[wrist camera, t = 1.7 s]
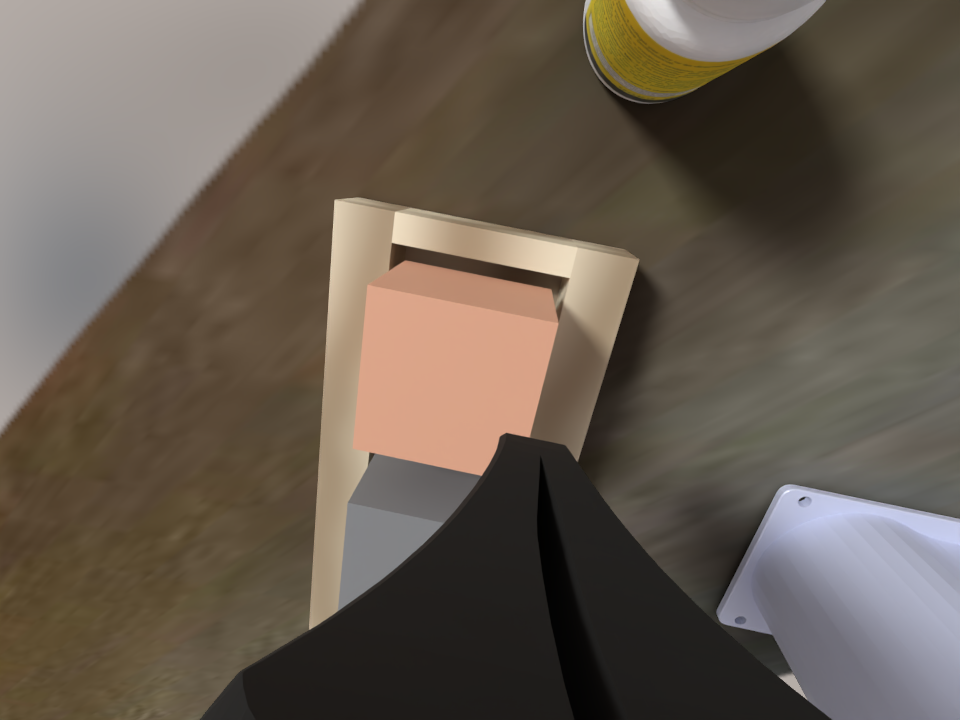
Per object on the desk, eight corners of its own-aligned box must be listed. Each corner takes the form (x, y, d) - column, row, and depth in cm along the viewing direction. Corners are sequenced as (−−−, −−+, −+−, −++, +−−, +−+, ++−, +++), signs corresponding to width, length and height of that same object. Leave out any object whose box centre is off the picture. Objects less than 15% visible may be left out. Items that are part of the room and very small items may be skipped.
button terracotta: (551, 289, 16) (558, 323, 12) (520, 418, 17) (518, 483, 14) (405, 260, 16) (367, 284, 12) (389, 391, 18) (352, 448, 14)
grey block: (509, 463, 18) (504, 536, 14) (486, 560, 20) (476, 646, 16) (384, 437, 18) (347, 502, 15) (372, 535, 20) (337, 616, 16)
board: (625, 249, 17) (639, 260, 15) (506, 656, 25) (504, 702, 23) (359, 197, 17) (334, 199, 15) (326, 616, 25) (307, 658, 23)
